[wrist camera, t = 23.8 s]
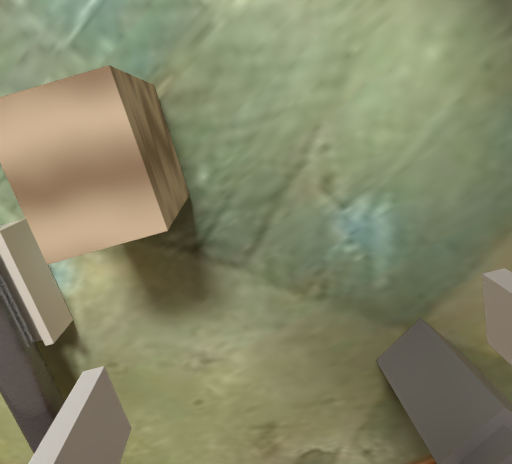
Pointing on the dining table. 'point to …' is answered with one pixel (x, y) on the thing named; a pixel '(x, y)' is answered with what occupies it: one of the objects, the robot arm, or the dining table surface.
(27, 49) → the dining table surface
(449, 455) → the perfume bottle
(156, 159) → the brown wooden block
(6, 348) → the axle
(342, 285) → the dining table surface
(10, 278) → the cradle
